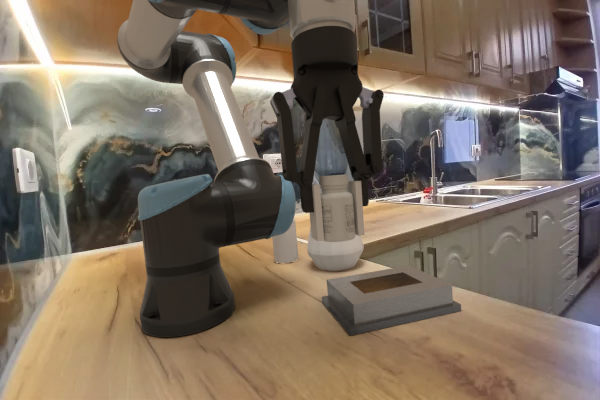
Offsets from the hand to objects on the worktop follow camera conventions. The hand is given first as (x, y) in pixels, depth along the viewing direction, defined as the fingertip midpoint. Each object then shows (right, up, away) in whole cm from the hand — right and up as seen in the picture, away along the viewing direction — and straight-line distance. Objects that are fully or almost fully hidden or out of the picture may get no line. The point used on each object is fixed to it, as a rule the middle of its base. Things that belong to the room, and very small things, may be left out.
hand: (337, 235), depth 39 cm
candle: (-8, -12, +44) cm, 46 cm away
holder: (+9, -13, +12) cm, 20 cm away
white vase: (+4, -11, +37) cm, 39 cm away
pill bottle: (0, -1, 0) cm, 1 cm away
